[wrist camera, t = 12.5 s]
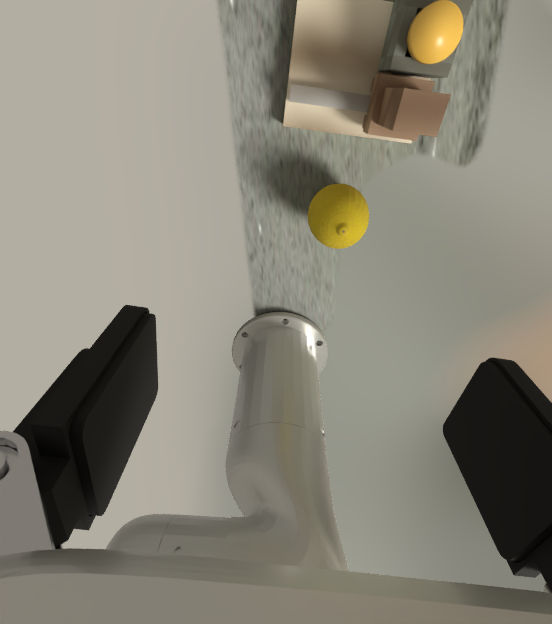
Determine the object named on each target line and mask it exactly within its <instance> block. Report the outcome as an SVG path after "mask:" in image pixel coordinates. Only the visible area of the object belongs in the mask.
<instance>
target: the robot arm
mask: <svg viewBox="0 0 552 624" xmlns="http://www.w3.org/2000/svg"><path fill="white" fill-rule="evenodd" d="M232 355H233V360H234V363H235V365H236V367H237V368H238V370H239V371H240V378H239V384H238V391H237V396H236V402H235V408H234V414H233V420H232V426H231V432H230V438H229V444H228V450H227V456H226V477H227V481H228V486H229V488H230V491H231V493H232V496H233V498H234V500H235V501H236V503H237V505H238V507H239V509H240V510H241V512H242V513H243V515H244V517H231V518H225V517H208V516H192V515H171V514H152V515H145V516H141V517H138V518H135V519H133V520H131V521H130V522H128V523H127V524H125V525H124V526H123V527H122V528H121V529H120V530H119V531H118V532H117V533H116V534H115V535H114V537H113V538H112V540H111V541H110V543H109V544H108V546H107V548H106V549H105V550H104V549H63V547H62V544H63V543H64V542H66V541H67V540H68V539H69V537H70V535H71V533H72V531H73V529H82V530H89V528H90V527H91V524H92V522H93V520H94V518H95V516H96V515H97V516H102V515H103V514H104V512H105V511H106V509H107V507H108V504H109V502H110V500H111V498H112V495H113V493H114V490H115V489H116V486H117V484H118V482H119V479H120V477H121V475H122V473H123V471H124V468H125V466H126V464H127V462H128V459H129V457H130V455H131V452H132V450H133V448H134V445H135V443H136V441H137V439H138V437H139V434H140V432H141V430H142V428H143V425H144V423H145V421H146V419H147V416H148V414H149V412H150V410H151V407H152V405H153V403H154V401H155V398H156V395H157V391H158V371H157V342H156V318H155V315H154V314H149V310H148V308H144V307H137V306H130V305H125V306H124V307H123V308H122V309H121V310H120V312H119V313H118V314H117V315H116V317H115V318H114V319H113V320H112V322H111V323H110V324H109V325H108V327H107V328H106V329H105V330H104V332H103V333H102V334H101V335H100V337H99V338H98V339H97V340H96V342H95V343H94V344H93V345H92V347H91V348H90V349H83V350H82V351H81V352H79V353H78V354H77V356H76V357H75V358H74V359H73V360H72V361H71V363H70V364H69V365H68V366H67V367H66V369H65V370H64V371H63V372H62V373H61V375H60V376H59V377H58V378H57V379H56V381H55V382H54V383H53V384H52V385H51V387H50V388H49V389H48V390H47V392H46V393H45V394H44V395H43V396H42V398H41V399H40V400H39V401H38V402H37V403H36V405H35V406H34V407H33V408H32V409H31V411H30V412H29V413H28V414H27V415H26V417H25V418H24V419H23V420H22V422H21V423H20V424H19V425H18V426H17V428H16V429H15V430H14V431H13V432H8V431H0V624H552V403H551V402H550V401H549V399H548V398H547V397H546V396H545V395H544V394H543V393H542V392H541V390H540V389H539V388H538V387H537V386H536V385H535V384H534V382H533V381H532V380H531V379H530V378H529V377H528V376H527V375H526V373H525V372H524V371H523V370H522V369H521V368H520V367H519V365H518V364H517V363H515V362H514V361H512V360H506V359H498V358H489V359H488V360H486V362H483V363H481V364H480V365H479V367H478V369H477V370H476V372H475V373H474V375H473V377H472V379H471V380H470V382H469V383H468V385H467V387H466V388H465V390H464V392H463V393H462V395H461V397H460V398H459V400H458V401H457V403H456V405H455V406H454V408H453V410H452V411H451V413H450V415H449V416H448V418H447V419H446V421H445V423H444V425H443V434H444V437H445V439H446V441H447V443H448V445H449V447H450V449H451V452H452V454H453V456H454V458H455V460H456V462H457V464H458V466H459V469H460V471H461V473H462V475H463V477H464V479H465V481H466V484H467V486H468V488H469V490H470V492H471V494H472V496H473V498H474V501H475V503H476V505H477V507H478V509H479V511H480V513H481V515H482V518H483V520H484V522H485V524H486V526H487V528H488V530H489V532H490V535H491V537H492V539H493V541H494V543H495V545H496V547H497V549H498V551H499V553H500V555H501V556H502V557H503V558H504V559H506V560H507V562H508V564H509V566H510V568H511V570H512V572H513V575H516V576H525V577H536V576H538V575H539V574H540V573H541V574H542V575H543V577H544V579H545V581H546V583H545V587H544V592H538V591H529V590H520V589H511V588H502V587H493V586H484V585H474V584H465V583H456V582H455V583H454V582H446V581H437V580H427V579H416V578H408V577H398V576H389V575H379V574H369V573H359V572H350V571H349V569H348V565H347V561H346V557H345V554H344V550H343V546H342V542H341V539H340V534H339V530H338V526H337V522H336V517H335V512H334V508H333V501H332V495H331V489H330V481H329V473H328V464H327V455H326V445H325V435H324V427H323V416H322V406H321V396H320V387H319V379H318V378H319V377H318V374H319V373H320V372H321V371H322V369H323V368H324V366H325V364H326V361H327V356H328V350H327V343H326V339H325V337H324V335H323V333H322V332H321V330H320V329H319V328H318V327H317V326H316V325H315V324H314V323H313V322H311V321H310V320H308V319H306V318H304V317H302V316H299V315H296V314H293V313H287V312H272V313H266V314H262V315H259V316H256V317H254V318H253V319H251V320H249V321H248V322H246V323H245V324H244V325H243V326H242V327H241V328H240V330H239V331H238V332H237V334H236V336H235V338H234V342H233V348H232Z"/></svg>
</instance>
